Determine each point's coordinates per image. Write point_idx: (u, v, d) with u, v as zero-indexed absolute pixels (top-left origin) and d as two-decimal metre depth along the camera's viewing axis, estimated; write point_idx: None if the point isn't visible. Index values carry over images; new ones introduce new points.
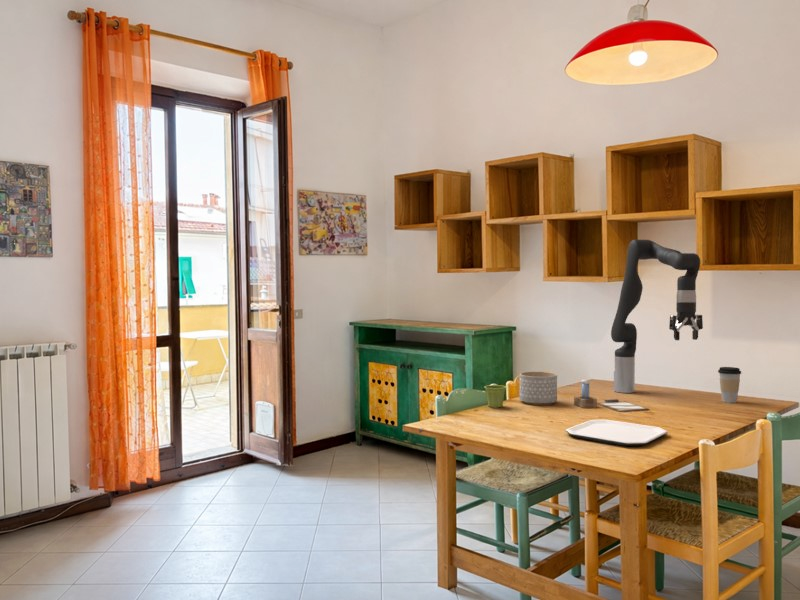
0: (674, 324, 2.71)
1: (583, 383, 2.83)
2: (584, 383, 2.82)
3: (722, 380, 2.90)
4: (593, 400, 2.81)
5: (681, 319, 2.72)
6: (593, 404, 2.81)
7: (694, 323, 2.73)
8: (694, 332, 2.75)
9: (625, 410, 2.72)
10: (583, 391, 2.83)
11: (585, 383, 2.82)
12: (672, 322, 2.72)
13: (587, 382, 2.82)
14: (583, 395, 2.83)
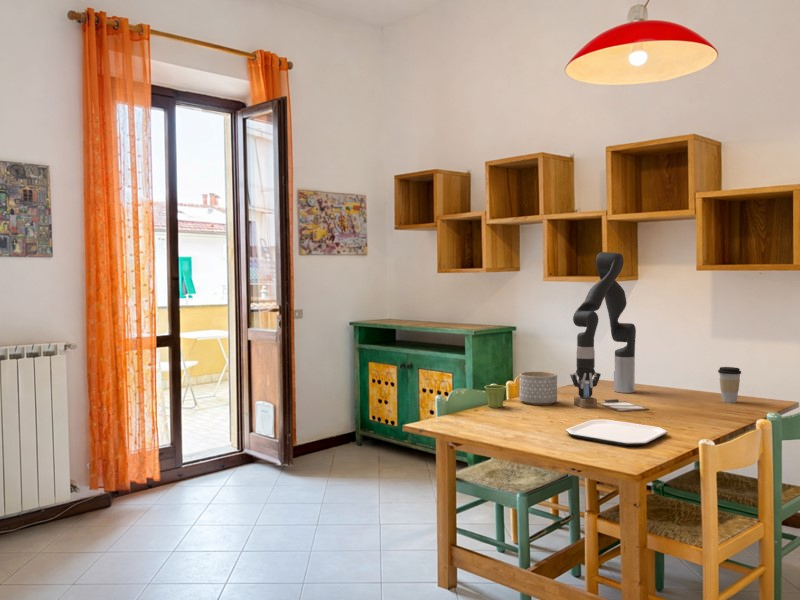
0: (576, 382, 2.82)
1: None
2: (584, 383, 2.82)
3: (722, 380, 2.90)
4: (593, 400, 2.81)
5: (581, 376, 2.82)
6: (593, 404, 2.81)
7: (590, 379, 2.83)
8: None
9: (625, 410, 2.72)
10: None
11: (585, 383, 2.82)
12: (574, 381, 2.82)
13: (587, 382, 2.82)
14: None
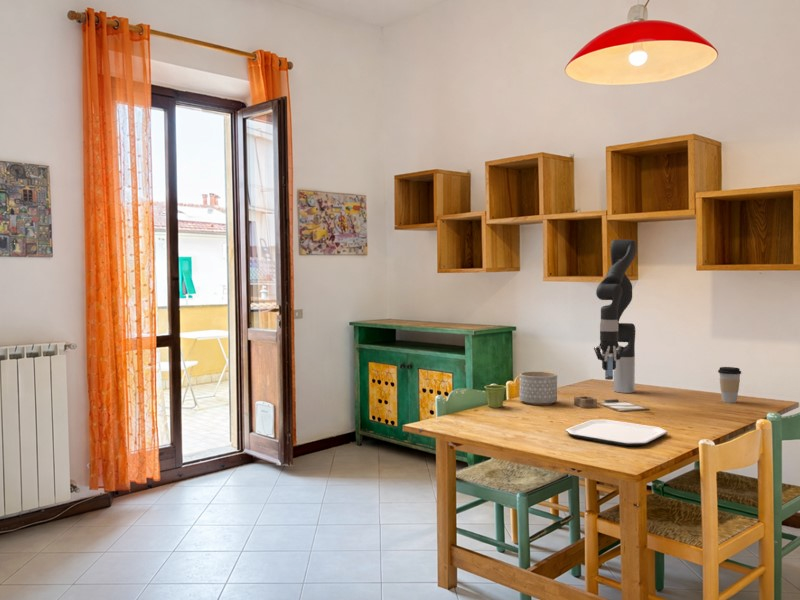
0: (600, 355, 2.82)
1: None
2: (608, 356, 2.82)
3: (722, 380, 2.90)
4: (593, 400, 2.81)
5: (604, 349, 2.82)
6: (593, 404, 2.81)
7: (614, 352, 2.83)
8: None
9: (625, 410, 2.72)
10: (607, 364, 2.83)
11: (609, 356, 2.82)
12: (598, 354, 2.82)
13: (611, 355, 2.82)
14: (607, 368, 2.83)
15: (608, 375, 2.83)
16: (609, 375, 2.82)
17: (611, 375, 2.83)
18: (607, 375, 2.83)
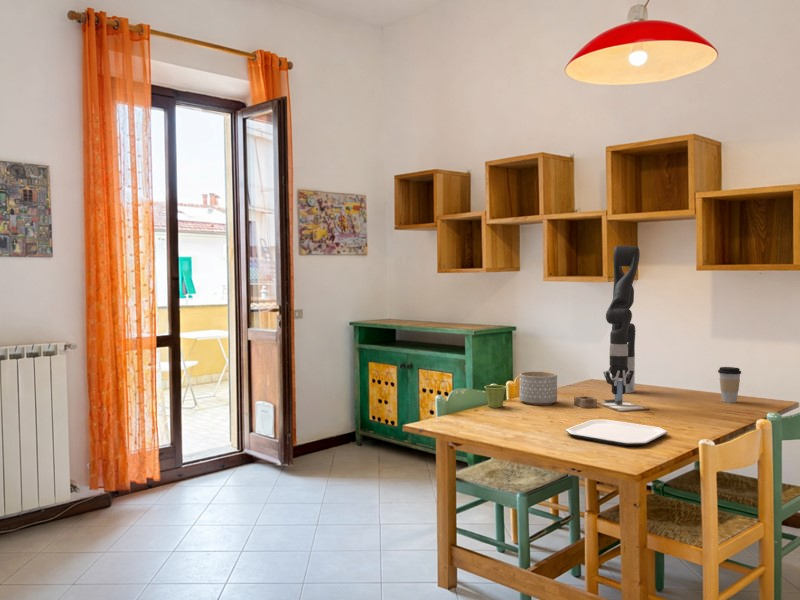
0: (610, 379, 2.81)
1: None
2: (618, 380, 2.82)
3: (722, 380, 2.90)
4: (593, 400, 2.81)
5: (614, 373, 2.81)
6: (593, 404, 2.81)
7: (624, 377, 2.82)
8: None
9: (625, 410, 2.72)
10: None
11: (618, 380, 2.82)
12: (607, 378, 2.81)
13: (620, 379, 2.81)
14: None
15: (618, 399, 2.82)
16: (619, 399, 2.82)
17: (621, 399, 2.82)
18: (617, 399, 2.82)
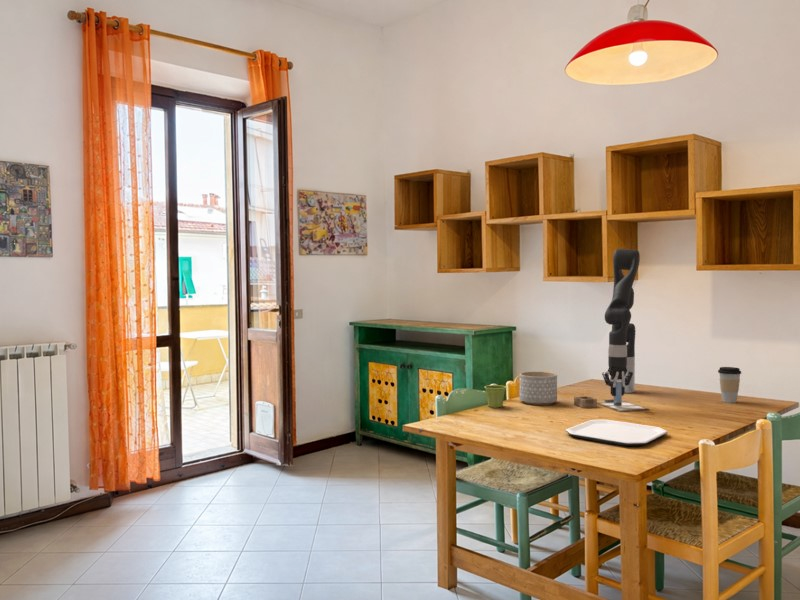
0: (609, 381, 2.76)
1: None
2: (617, 382, 2.77)
3: (722, 380, 2.90)
4: (593, 400, 2.81)
5: (613, 375, 2.77)
6: (593, 404, 2.81)
7: (623, 378, 2.77)
8: None
9: (625, 410, 2.72)
10: None
11: (617, 382, 2.77)
12: (606, 380, 2.76)
13: (619, 381, 2.77)
14: None
15: (617, 401, 2.77)
16: (618, 401, 2.77)
17: (620, 401, 2.77)
18: (616, 401, 2.77)
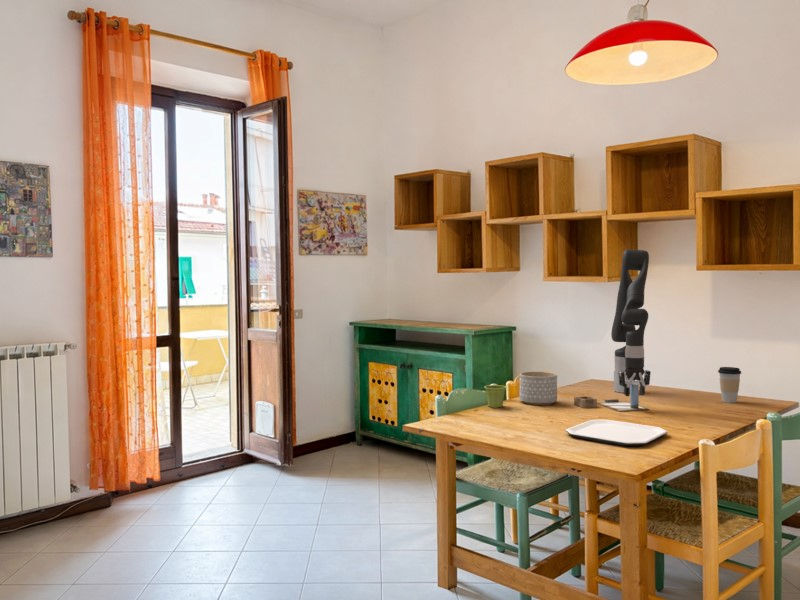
0: (623, 380, 2.73)
1: (632, 384, 2.75)
2: (634, 384, 2.75)
3: (722, 380, 2.90)
4: (593, 400, 2.81)
5: (629, 375, 2.74)
6: (593, 404, 2.81)
7: (641, 378, 2.75)
8: (641, 388, 2.76)
9: (625, 410, 2.72)
10: (632, 392, 2.75)
11: (634, 384, 2.74)
12: (621, 379, 2.74)
13: (636, 383, 2.74)
14: (632, 397, 2.75)
15: (634, 403, 2.75)
16: (635, 404, 2.75)
17: (637, 404, 2.75)
18: (632, 404, 2.75)
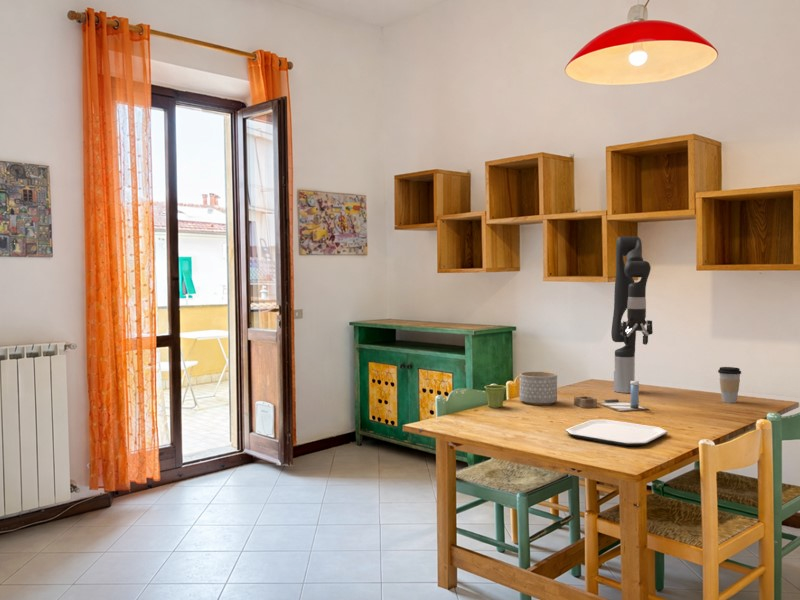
0: (624, 330, 2.80)
1: (632, 384, 2.75)
2: (634, 384, 2.74)
3: (722, 380, 2.90)
4: (593, 400, 2.81)
5: (631, 325, 2.81)
6: (593, 404, 2.81)
7: (644, 329, 2.82)
8: (644, 337, 2.84)
9: (625, 410, 2.72)
10: (632, 393, 2.75)
11: (635, 384, 2.74)
12: (622, 328, 2.81)
13: (637, 383, 2.74)
14: (632, 397, 2.75)
15: (634, 404, 2.75)
16: (635, 404, 2.75)
17: (637, 404, 2.75)
18: (633, 404, 2.75)
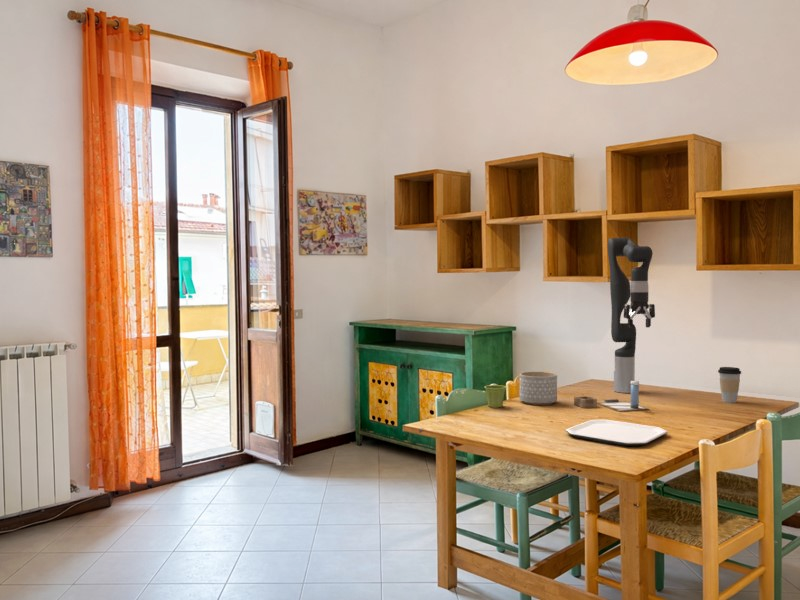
0: (628, 313, 2.90)
1: (633, 384, 2.75)
2: (634, 384, 2.74)
3: (722, 380, 2.90)
4: (593, 400, 2.81)
5: (634, 308, 2.90)
6: (593, 404, 2.81)
7: (647, 312, 2.91)
8: (647, 320, 2.93)
9: (625, 410, 2.72)
10: (632, 393, 2.75)
11: (635, 384, 2.74)
12: (626, 311, 2.90)
13: (637, 383, 2.74)
14: (632, 397, 2.75)
15: (634, 404, 2.75)
16: (635, 404, 2.75)
17: (637, 404, 2.75)
18: (633, 404, 2.75)
